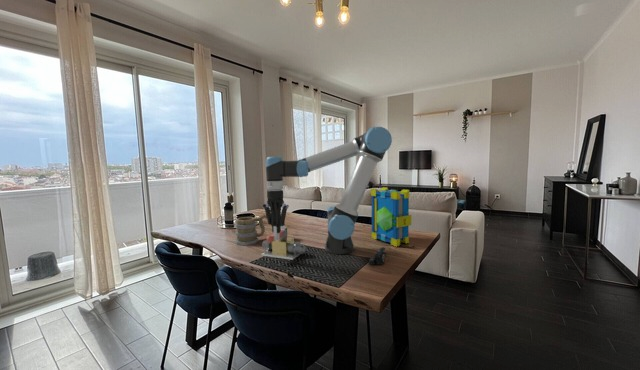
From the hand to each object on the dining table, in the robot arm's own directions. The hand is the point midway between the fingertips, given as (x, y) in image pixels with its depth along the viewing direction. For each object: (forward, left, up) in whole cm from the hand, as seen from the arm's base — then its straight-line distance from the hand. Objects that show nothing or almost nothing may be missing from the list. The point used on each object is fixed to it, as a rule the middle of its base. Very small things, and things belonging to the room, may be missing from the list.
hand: (276, 239), depth 128 cm
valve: (+2, -9, -10) cm, 14 cm away
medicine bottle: (+17, -30, -10) cm, 36 cm away
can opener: (-46, -16, -11) cm, 50 cm away
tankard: (+31, -22, -10) cm, 39 cm away
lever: (+2, -3, -3) cm, 5 cm away
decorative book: (-45, -47, -10) cm, 66 cm away
